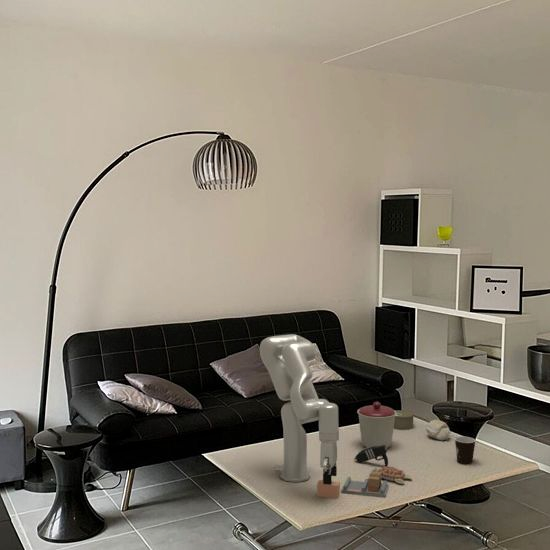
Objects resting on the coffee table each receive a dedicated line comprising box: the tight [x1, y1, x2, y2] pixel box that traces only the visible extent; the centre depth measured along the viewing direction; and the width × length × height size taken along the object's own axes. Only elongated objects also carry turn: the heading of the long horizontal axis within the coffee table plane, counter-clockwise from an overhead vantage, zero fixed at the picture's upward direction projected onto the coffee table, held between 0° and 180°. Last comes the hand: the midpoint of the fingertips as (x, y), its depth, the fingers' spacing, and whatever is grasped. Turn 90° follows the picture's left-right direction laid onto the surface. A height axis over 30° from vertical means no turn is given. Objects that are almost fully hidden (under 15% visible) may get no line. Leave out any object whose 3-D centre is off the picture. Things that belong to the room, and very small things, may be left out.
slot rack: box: [340, 476, 390, 498], centre depth 280 cm, size 17×11×3 cm, turn 74°
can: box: [393, 409, 415, 431], centre depth 362 cm, size 12×12×7 cm
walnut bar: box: [367, 470, 382, 492], centre depth 279 cm, size 8×4×5 cm, turn 164°
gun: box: [353, 445, 389, 467], centre depth 308 cm, size 3×16×10 cm, turn 60°
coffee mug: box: [454, 436, 476, 466], centre depth 311 cm, size 12×9×10 cm
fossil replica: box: [425, 419, 451, 441], centre depth 343 cm, size 12×8×10 cm
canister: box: [356, 401, 397, 449], centre depth 331 cm, size 18×18×21 cm
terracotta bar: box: [316, 479, 341, 499], centre depth 275 cm, size 8×4×5 cm, turn 74°
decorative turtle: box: [372, 465, 413, 485], centre depth 292 cm, size 18×17×5 cm
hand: (330, 479), depth 273 cm, fingers open, 9 cm apart
